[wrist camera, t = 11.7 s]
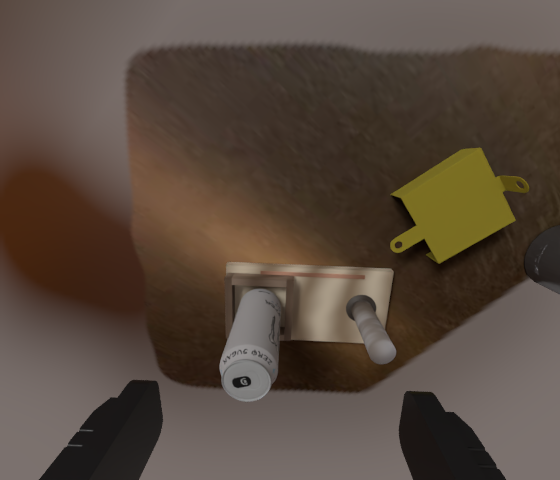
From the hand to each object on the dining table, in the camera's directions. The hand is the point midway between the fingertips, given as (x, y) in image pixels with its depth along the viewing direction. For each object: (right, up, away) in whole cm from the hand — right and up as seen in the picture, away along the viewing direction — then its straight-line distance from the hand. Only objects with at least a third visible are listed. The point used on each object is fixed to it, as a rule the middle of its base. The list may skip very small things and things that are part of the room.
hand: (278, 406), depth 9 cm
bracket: (+21, +9, +30) cm, 38 cm away
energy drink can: (-3, -4, +32) cm, 33 cm away
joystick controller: (+4, -4, +33) cm, 34 cm away
